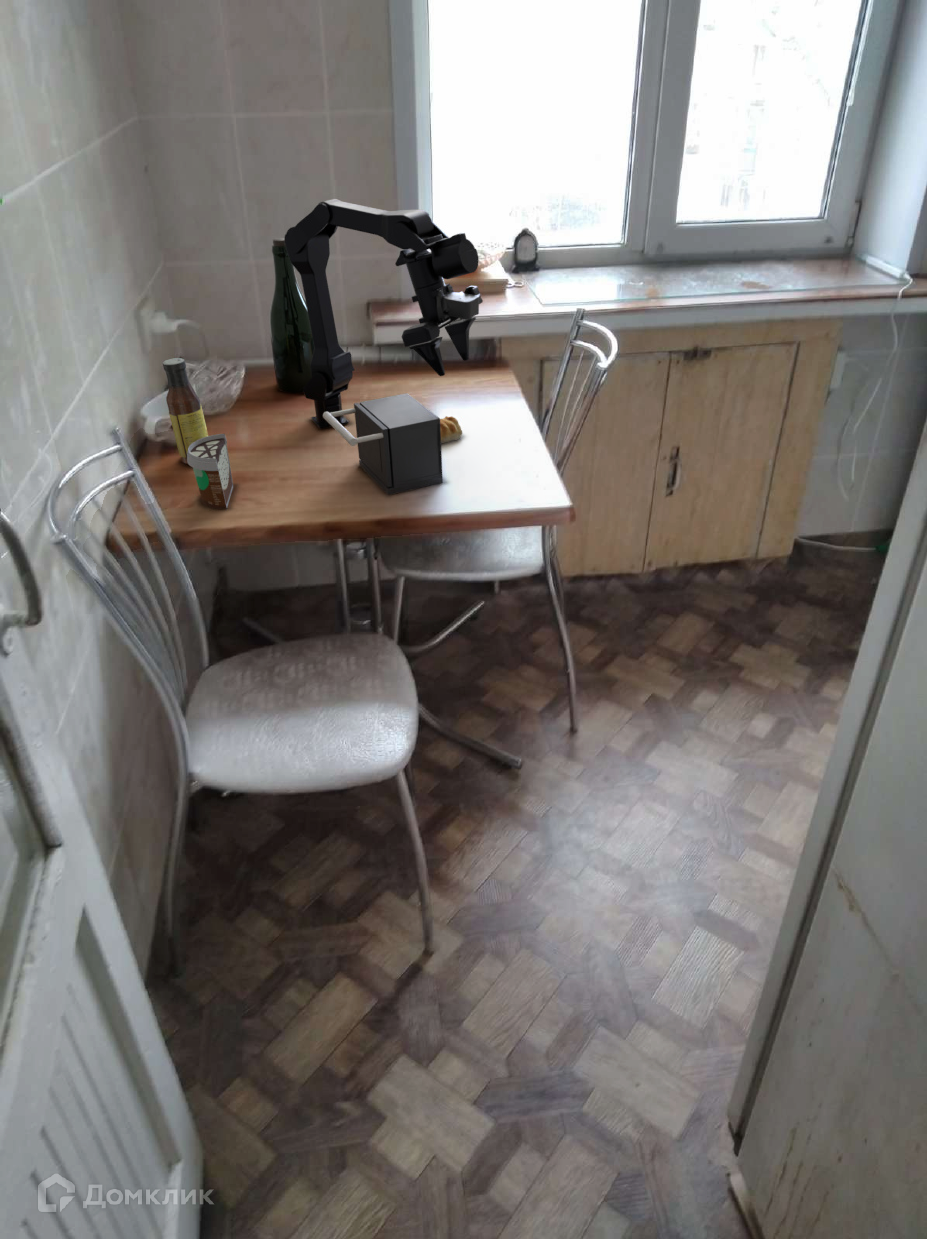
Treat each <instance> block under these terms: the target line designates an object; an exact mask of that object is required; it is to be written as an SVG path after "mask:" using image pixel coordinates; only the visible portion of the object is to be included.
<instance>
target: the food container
mask: <svg viewBox="0 0 927 1239" xmlns="http://www.w3.org/2000/svg"><path fill="white" fill-rule="evenodd" d="M187 463H188V464H187V465H189V466H190V467H191V468H192V470H193V473H194V477H195V480H196V484H197V487H198V490H199V494H200V497H201V502H202V504H203V505H204V506H207V507H209V508H212V509H220V510H222V509H224V510H225V509H228V506H229V503H230V499H231V495H232V492H233V490H234V482H233V481H234V480H233V476H232V474H233V473H232V468H231V464H230V456H229V450H228V441H227V436H226V433H219V434H212V435H208V436H207V437H204V438H201V439H199V440H197V441H195V442H193V443H192V444H191V445H190V446H189V448H188V452H187Z"/></svg>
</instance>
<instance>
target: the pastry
mask: <svg viewBox="0 0 927 1239" xmlns="http://www.w3.org/2000/svg"><path fill="white" fill-rule="evenodd" d="M440 431H441V444H444V443H449V442H452V441H456V440H459V439H460V438H461V436H462V435H463V429H462V427H461V425H460V424H459V420H458V419H457V418H456V417H454V416H445V417H444V418H440Z"/></svg>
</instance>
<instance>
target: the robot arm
mask: <svg viewBox="0 0 927 1239" xmlns="http://www.w3.org/2000/svg"><path fill="white" fill-rule="evenodd" d="M338 228H343V229H348V230H353V231H357V232H362V233H366V234H371V235H376V236H378V237H381V238H382V239H383V240H384V241H386V242H387V243H388V244H390V245H392V246H394V247H396V248H399V249H400V251H399V255H398V258H396V261H395V266H396V267H400V266H403V265H406V269H407V272H408V275H409V278H410V282H411V285H412V288H413V291H414V295H412V296H411V300H412V303H415V302H416V303H417V304H418V306H419V310H420V313H421V316H422V317H420V318H418V322H419V323H418V324H414V325H413V324H412V325H411V326H410V327H408V328H406V329H404V330H403V331H402V335H401V339H402V343H403V345H404V348H407V347H409V349H410V350H413V351H414V352H416V354H418V355H419V356H420V357H421V358H422V359H423V360H424V361H425V362H426V363H427V364H428V365H429V367H430V368H431V369H432V370H433V371H435V373H436V374H437V375H438V376H439V377H443V376H445V375H446V371H445V366H444V361H443V356H442V353H441V348H440V346H441V342H442V340H443V336H440V334H441V329H442V328H444V329H445V331H446V334H447V335H448V337H449V339H450V340H451V342H452V344H453V346H454V347H455V349H456V351H457V353H458V355H459V356H460V357H461V359H462V361H463V362H467V361H469V359H470V329H471V327H472V325H473V324H474V322H475V321H476V320H477V317H476V316H478V315H479V314H480V305H481V304H482V303H483V301H484V300H483V298H482V295H481V291H480V290H479V287H478V286H477V285H469V286H467V287H465V290H464V291H459V292H457V291H454V288H453V286H452V285H451V283H445V282H446V281H445V280H450V279H454V278H458V277H461V276H462V277H463V276H466V275H470V274H472V273H475V272H476V271H477V269H478V268H479V253H478V249H476V248H475V245H474V244H473V242H472V241H471V240H470V239H468V238H467V236H466V233H465V232H464V231H463V232H459V233H457V234H453V235H452V236H450V237H449V236H448V235H447V234H446V233H445V232H444V231H443V230H442V229H441V228H440V227H439V226H438V225H437V224H436V223H435V222H434V221H433V219H432V218H431V217H430V213H429V212H428V211H426V210H424V209H402V210H385V209H380V208H375V207H370V206H367V205H362V204H361V205H360V204H356V203H351V202H346V201H342V200H340V199H337V198H332V199H327V200H324V201H323V200H322V201H320V202H318V203H317V205H316V206H315V207H314V209H312V210H311V212H309V213H308V214H307V215H305V217H303V219H300V221H299V222H298V223H296V225H295V226H291V227H289V228H288V229H287V231H286V232H285V234H284V236H283V238H284V241H285V246H286V249H287V252H288V255H289V259H290V261H291V263H292V264H293V266H294V269H295V270H296V271H297V272H298V273H299V275H300V279H301V285H302V290H303V296H304V298H305V300H306V305H307V311H308V316H309V321H310V326H311V331H312V336H313V342H314V353H313V356H312V360H311V377H312V378H311V379H310V380H309V381H308V383H307V384H306V385H305V386H304V387H303V392H304V393H303V394H304V397H305V399H307V400H311V401H313V403H314V412H315V416H311V417H310V419H311V421H312V422H313V423H314V424H315V425H316V426H317V427H318V428H319V430H320V429H321V430H322V429H328V428H333V427H332V426H331V425H330V424H329V423H328V422H327V421H326V420H325V419H324V418H323V413H324V412H329V413H331V412H337V411H342V410H343V404H342V396H341V394H342V393H343V392H345V391H348V388H349V385H350V382H351V380H352V379H353V377H354V376H353V374H354V373H353V372H355V367H354V365H353V361H352V360H353V358H352V354H351V351H345V350H344V349H343V348H342V347H341V345H340V343H339V338H338V333H337V328H336V322H335V317H334V311H333V310H334V309H333V306H332V299H331V294H330V288H329V282H328V277H327V267H328V262H329V259H330V254H331V252H330V239H331V238H332V237H333V236H334V235H335V234H336V232H337V231H338ZM429 250H430V251H429ZM334 418H335V419H336V420H337V421H338V422H339V423H340V424H341V425H342V426H343V425H348V424H350V421H349V419H348V418H346V417H345V415H342V416H337V417H334Z"/></svg>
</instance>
